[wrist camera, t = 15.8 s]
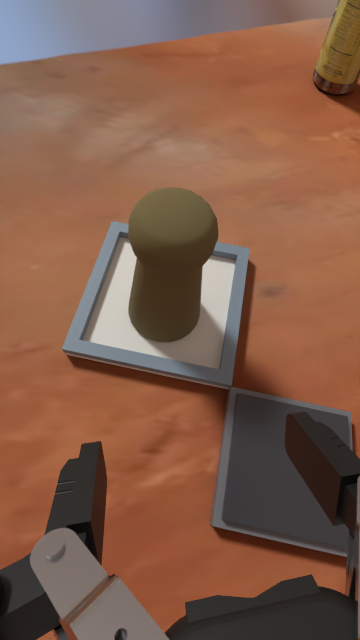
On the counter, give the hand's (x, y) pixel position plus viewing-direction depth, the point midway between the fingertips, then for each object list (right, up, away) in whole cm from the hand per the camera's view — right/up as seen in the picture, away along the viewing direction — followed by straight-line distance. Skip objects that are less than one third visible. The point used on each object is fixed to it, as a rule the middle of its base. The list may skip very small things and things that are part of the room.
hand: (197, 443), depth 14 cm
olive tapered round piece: (-2, +6, +13) cm, 15 cm away
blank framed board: (-2, +7, +14) cm, 16 cm away
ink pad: (+6, -5, +9) cm, 12 cm away
